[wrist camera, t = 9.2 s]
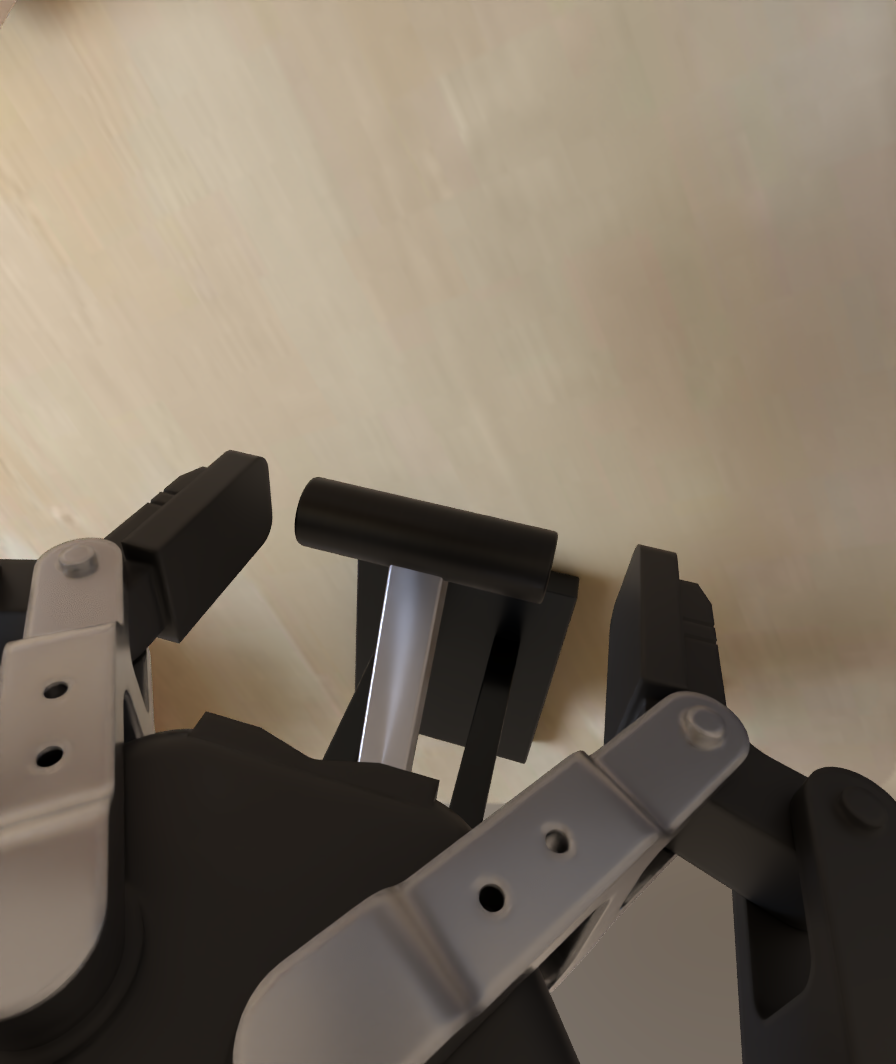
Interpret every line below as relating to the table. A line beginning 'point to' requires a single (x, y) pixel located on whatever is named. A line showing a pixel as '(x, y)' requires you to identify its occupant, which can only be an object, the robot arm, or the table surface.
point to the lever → (417, 587)
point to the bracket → (470, 676)
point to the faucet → (5, 9)
